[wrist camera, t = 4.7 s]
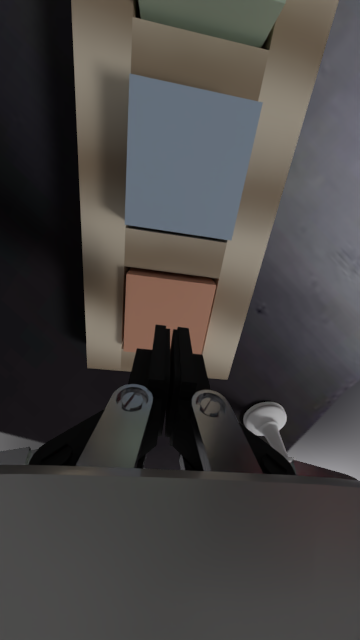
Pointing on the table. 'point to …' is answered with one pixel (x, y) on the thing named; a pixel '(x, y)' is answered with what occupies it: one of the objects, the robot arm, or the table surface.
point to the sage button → (217, 17)
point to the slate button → (186, 157)
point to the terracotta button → (166, 306)
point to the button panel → (111, 158)
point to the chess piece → (268, 424)
